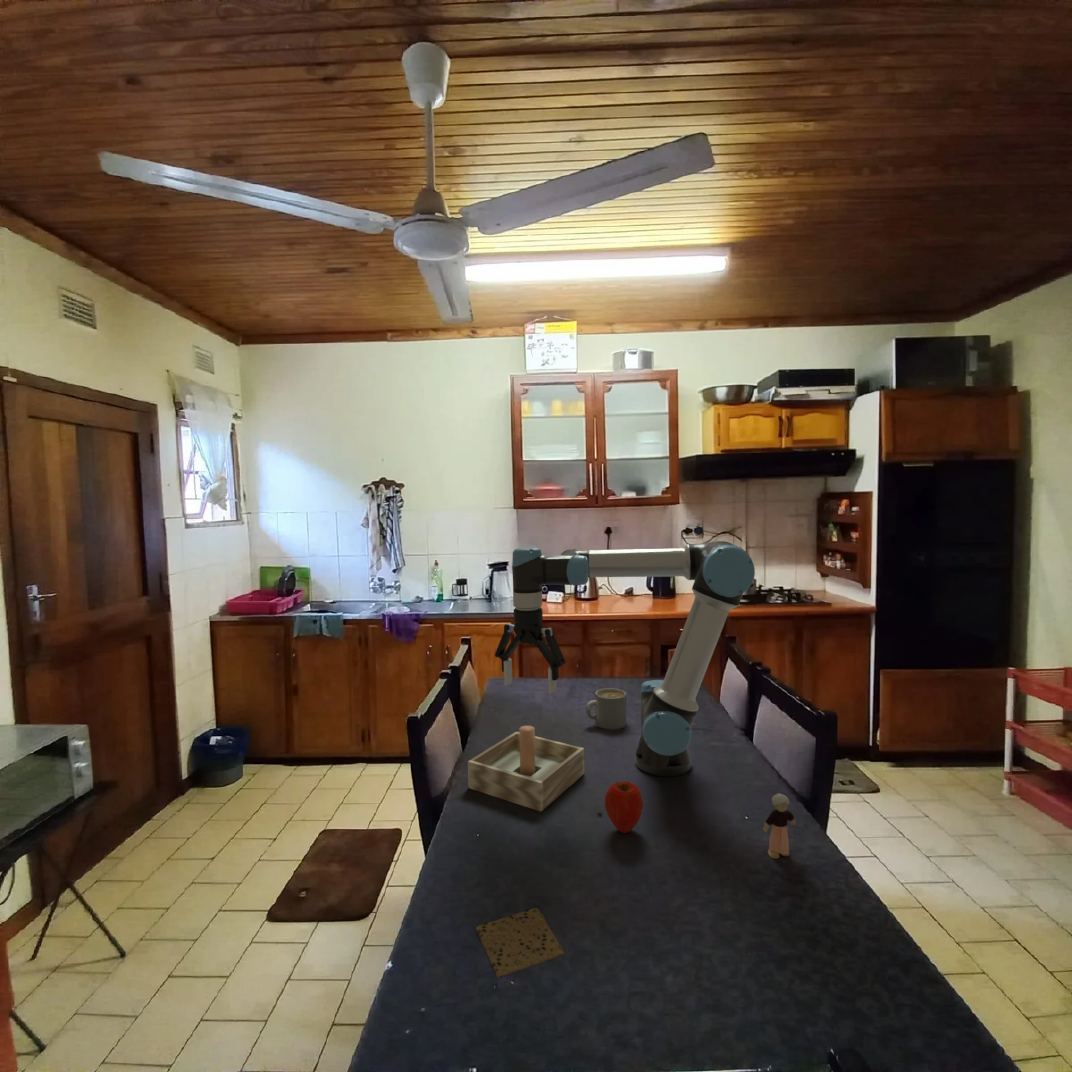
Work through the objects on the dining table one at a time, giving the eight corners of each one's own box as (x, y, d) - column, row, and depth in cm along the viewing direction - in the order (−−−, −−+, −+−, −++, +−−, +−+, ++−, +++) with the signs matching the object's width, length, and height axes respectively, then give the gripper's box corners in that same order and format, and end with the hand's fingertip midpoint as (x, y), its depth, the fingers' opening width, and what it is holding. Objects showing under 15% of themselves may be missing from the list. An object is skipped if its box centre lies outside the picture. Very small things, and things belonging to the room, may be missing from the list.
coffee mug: (622, 716, 197) (622, 687, 196) (629, 728, 187) (629, 697, 186) (582, 718, 196) (582, 689, 195) (588, 730, 186) (587, 699, 185)
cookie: (497, 981, 91) (497, 976, 91) (474, 929, 102) (474, 924, 102) (566, 957, 96) (566, 951, 96) (537, 909, 107) (537, 904, 107)
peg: (538, 779, 155) (537, 727, 154) (530, 785, 151) (529, 732, 150) (525, 775, 157) (524, 724, 156) (517, 781, 153) (516, 729, 152)
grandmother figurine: (774, 863, 118) (775, 803, 117) (759, 853, 122) (760, 794, 121) (800, 852, 122) (801, 793, 121) (785, 843, 125) (786, 785, 124)
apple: (620, 815, 137) (620, 770, 136) (651, 830, 131) (651, 783, 130) (597, 830, 131) (596, 783, 130) (628, 846, 125) (628, 797, 124)
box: (584, 773, 157) (584, 748, 157) (541, 811, 139) (540, 783, 138) (516, 755, 169) (516, 731, 169) (468, 787, 151) (467, 761, 150)
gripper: (577, 608, 148) (579, 691, 150) (496, 601, 161) (499, 677, 163) (563, 614, 142) (564, 700, 143) (480, 606, 155) (482, 684, 156)
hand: (529, 688), depth 153 cm, fingers open, 13 cm apart
